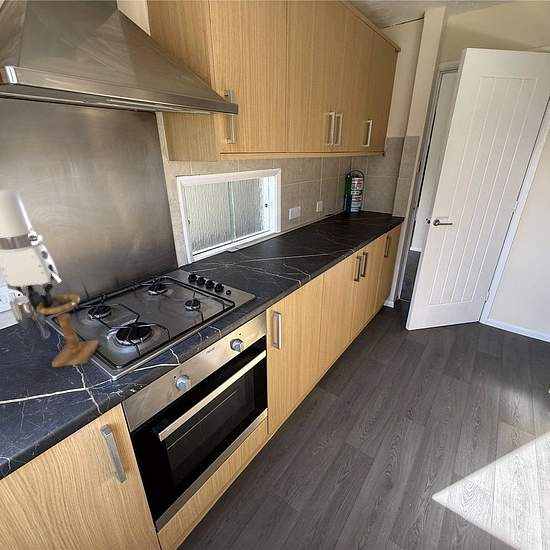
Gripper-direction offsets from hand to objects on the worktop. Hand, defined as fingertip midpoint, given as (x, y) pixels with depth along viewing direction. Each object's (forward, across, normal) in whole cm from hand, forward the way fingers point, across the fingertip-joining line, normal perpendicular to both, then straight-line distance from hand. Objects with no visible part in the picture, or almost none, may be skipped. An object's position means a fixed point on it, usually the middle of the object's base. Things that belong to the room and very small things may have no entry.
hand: (43, 306), depth 79 cm
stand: (+17, -4, 0) cm, 17 cm away
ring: (0, -4, 0) cm, 4 cm away
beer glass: (+17, +11, -10) cm, 23 cm away
